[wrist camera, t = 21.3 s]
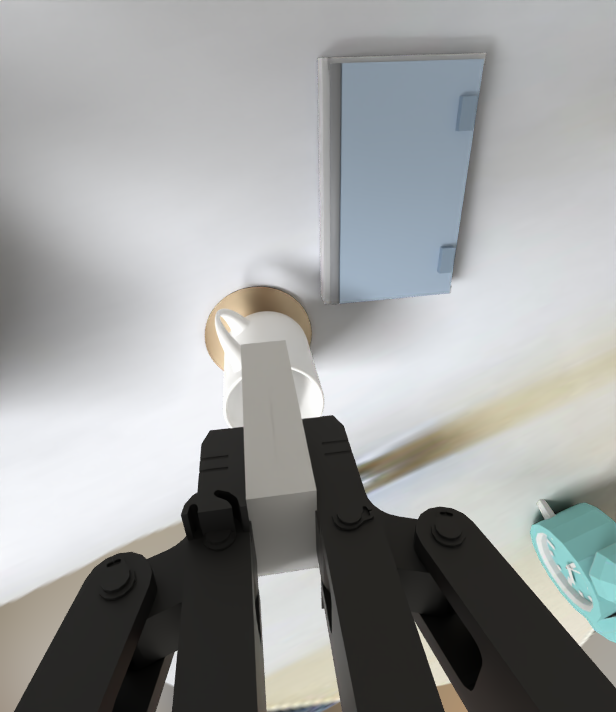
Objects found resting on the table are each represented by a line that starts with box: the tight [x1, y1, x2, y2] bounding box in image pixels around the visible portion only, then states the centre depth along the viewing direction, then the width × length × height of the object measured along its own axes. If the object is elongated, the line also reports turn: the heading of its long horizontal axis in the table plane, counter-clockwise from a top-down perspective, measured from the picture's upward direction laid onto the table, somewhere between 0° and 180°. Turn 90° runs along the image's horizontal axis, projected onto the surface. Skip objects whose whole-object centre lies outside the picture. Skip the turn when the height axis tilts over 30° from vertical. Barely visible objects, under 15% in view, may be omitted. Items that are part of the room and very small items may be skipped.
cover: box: [330, 59, 484, 304], centre depth 38 cm, size 12×19×2 cm, turn 2°
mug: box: [215, 309, 324, 428], centre depth 42 cm, size 9×12×11 cm
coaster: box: [205, 287, 312, 371], centre depth 47 cm, size 11×11×1 cm
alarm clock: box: [530, 500, 616, 643], centre depth 63 cm, size 17×10×20 cm, turn 18°
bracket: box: [317, 53, 486, 304], centre depth 40 cm, size 13×20×2 cm, turn 2°
